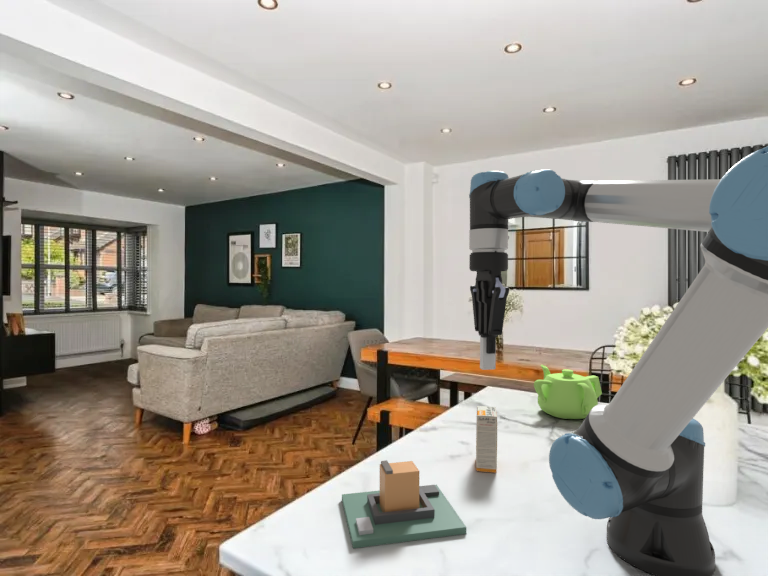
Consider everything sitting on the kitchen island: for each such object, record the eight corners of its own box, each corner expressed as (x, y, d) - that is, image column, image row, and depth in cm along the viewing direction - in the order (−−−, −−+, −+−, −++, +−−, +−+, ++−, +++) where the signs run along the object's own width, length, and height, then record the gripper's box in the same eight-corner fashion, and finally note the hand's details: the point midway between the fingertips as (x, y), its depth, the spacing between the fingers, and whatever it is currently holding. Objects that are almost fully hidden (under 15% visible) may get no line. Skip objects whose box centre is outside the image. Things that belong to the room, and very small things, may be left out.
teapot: (594, 427, 132) (594, 379, 132) (526, 415, 143) (526, 371, 143) (602, 410, 148) (602, 368, 148) (540, 401, 159) (540, 361, 158)
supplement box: (497, 473, 101) (498, 416, 101) (476, 471, 102) (476, 415, 102) (495, 458, 109) (496, 406, 109) (475, 457, 110) (476, 405, 110)
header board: (466, 533, 78) (466, 518, 77) (353, 548, 73) (353, 532, 73) (436, 490, 93) (436, 477, 93) (341, 500, 89) (341, 487, 89)
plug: (419, 513, 82) (419, 467, 82) (385, 518, 80) (385, 471, 80) (412, 501, 86) (412, 457, 86) (379, 505, 85) (379, 461, 84)
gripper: (522, 250, 83) (521, 375, 84) (491, 253, 96) (490, 361, 97) (485, 249, 82) (484, 376, 82) (458, 253, 94) (458, 363, 95)
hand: (487, 368), depth 89 cm, fingers closed
